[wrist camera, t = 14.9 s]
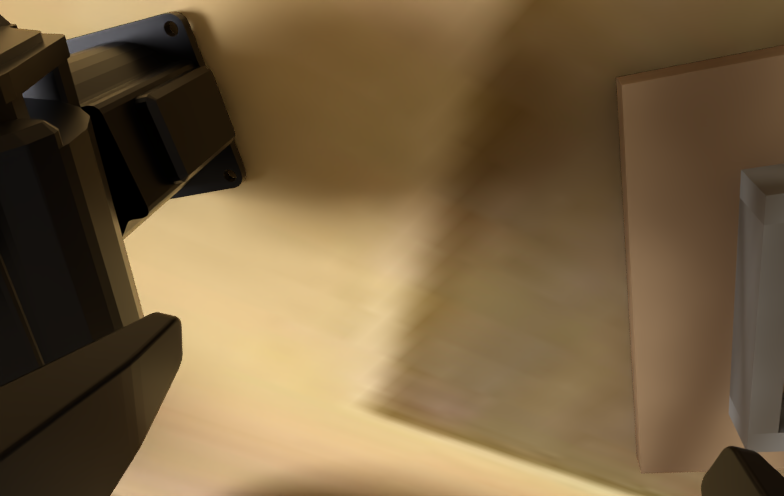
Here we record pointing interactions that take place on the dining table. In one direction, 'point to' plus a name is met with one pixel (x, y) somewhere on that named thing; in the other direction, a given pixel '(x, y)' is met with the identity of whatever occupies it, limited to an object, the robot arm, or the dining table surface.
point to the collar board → (705, 257)
